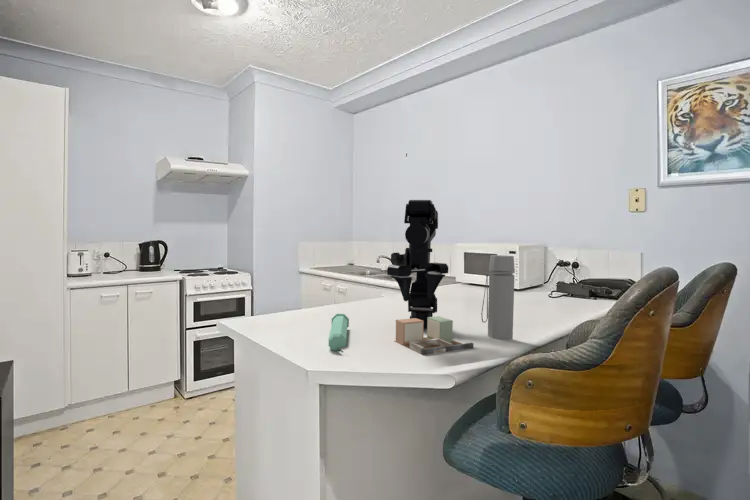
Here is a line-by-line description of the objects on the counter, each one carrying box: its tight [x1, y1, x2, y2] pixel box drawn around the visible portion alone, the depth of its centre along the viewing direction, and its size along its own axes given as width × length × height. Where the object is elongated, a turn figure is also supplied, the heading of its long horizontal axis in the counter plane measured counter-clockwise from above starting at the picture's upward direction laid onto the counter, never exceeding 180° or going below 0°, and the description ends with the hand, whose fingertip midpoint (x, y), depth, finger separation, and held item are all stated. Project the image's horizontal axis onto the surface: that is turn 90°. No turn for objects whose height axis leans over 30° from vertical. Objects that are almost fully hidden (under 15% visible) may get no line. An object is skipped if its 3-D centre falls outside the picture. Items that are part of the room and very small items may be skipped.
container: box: [328, 313, 350, 352], centre depth 122 cm, size 6×6×25 cm
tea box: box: [426, 315, 454, 342], centre depth 119 cm, size 4×6×6 cm, turn 27°
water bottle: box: [480, 254, 516, 341], centre depth 124 cm, size 9×8×25 cm
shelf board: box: [393, 336, 475, 356], centre depth 114 cm, size 16×15×3 cm
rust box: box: [395, 318, 425, 346], centre depth 116 cm, size 4×6×6 cm, turn 117°
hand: (418, 299), depth 119 cm, fingers open, 9 cm apart
